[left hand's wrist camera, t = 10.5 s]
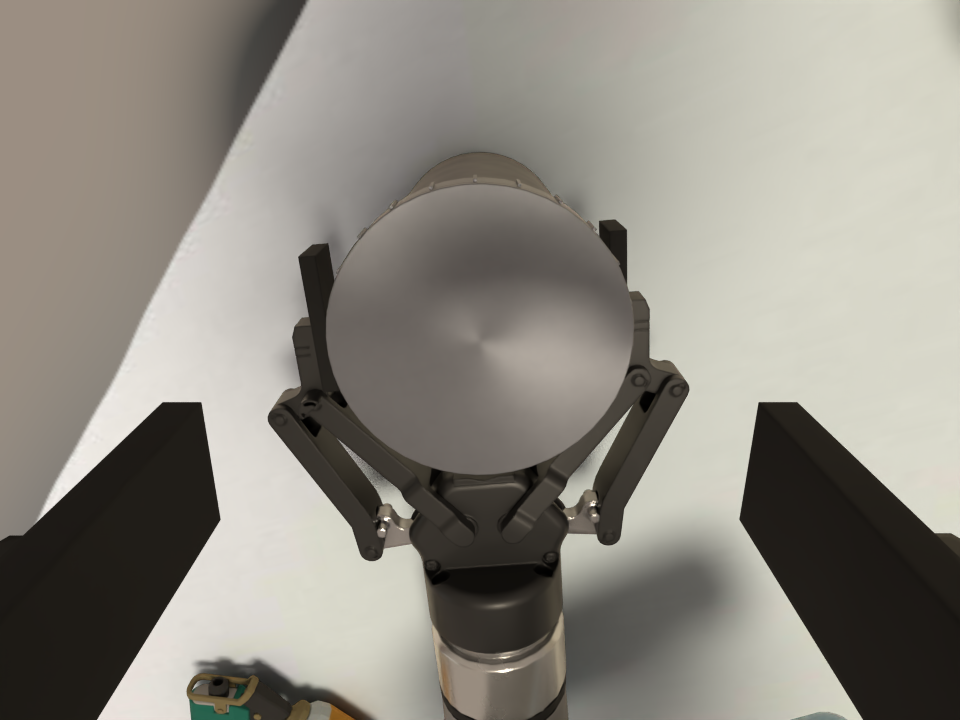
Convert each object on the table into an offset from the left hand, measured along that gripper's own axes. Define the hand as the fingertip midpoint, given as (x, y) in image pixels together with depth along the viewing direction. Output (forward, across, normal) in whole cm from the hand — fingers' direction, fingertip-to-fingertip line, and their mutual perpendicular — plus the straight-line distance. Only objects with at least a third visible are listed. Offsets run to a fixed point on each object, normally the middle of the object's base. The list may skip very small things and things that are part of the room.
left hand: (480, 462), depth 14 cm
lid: (+8, 0, 0) cm, 8 cm away
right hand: (+18, +1, -1) cm, 19 cm away
